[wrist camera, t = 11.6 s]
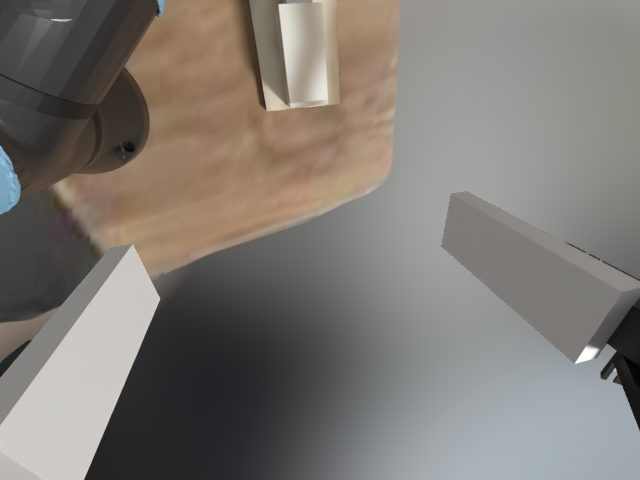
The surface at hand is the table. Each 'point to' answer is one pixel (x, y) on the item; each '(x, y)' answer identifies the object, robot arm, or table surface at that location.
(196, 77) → the table surface
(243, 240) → the table surface
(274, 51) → the tube rig
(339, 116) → the table surface
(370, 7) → the table surface
